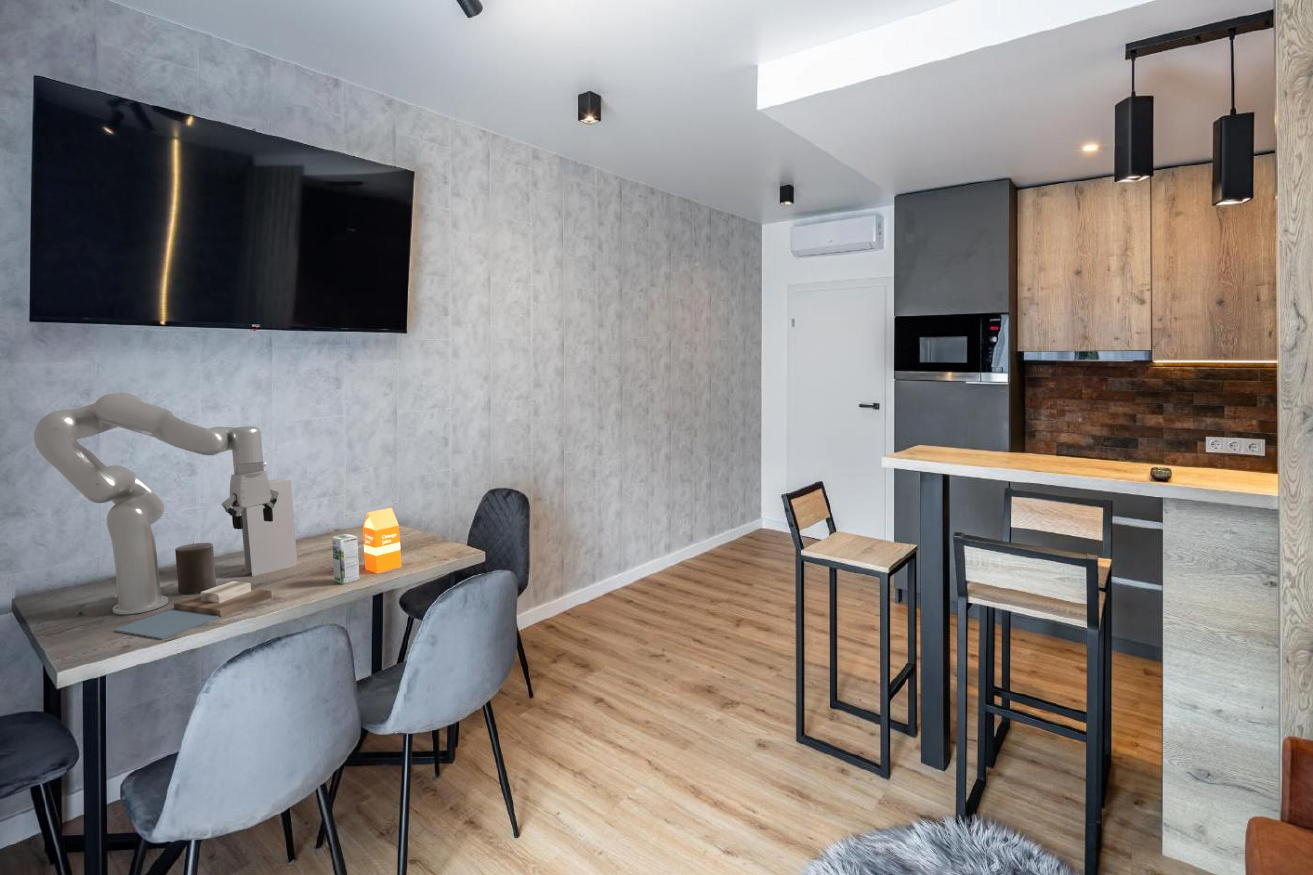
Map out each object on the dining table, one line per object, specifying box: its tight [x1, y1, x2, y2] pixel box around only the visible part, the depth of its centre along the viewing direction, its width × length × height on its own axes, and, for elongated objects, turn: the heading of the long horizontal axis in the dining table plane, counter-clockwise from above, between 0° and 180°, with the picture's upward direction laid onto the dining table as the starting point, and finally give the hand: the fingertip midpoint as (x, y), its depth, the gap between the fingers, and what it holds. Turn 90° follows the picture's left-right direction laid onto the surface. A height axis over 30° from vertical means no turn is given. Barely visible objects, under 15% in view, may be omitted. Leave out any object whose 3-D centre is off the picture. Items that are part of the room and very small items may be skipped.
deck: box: [173, 587, 273, 618], centre depth 191 cm, size 18×16×2 cm
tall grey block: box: [240, 478, 298, 577], centre depth 221 cm, size 14×6×30 cm, turn 141°
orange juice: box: [362, 507, 402, 574], centre depth 221 cm, size 8×9×20 cm
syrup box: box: [331, 533, 360, 585], centre depth 209 cm, size 6×6×14 cm
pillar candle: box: [174, 542, 217, 595], centre depth 203 cm, size 10×10×15 cm
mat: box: [113, 608, 220, 641], centre depth 176 cm, size 18×15×1 cm
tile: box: [200, 580, 252, 603], centre depth 191 cm, size 7×10×2 cm
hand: (253, 524), depth 196 cm, fingers open, 9 cm apart
